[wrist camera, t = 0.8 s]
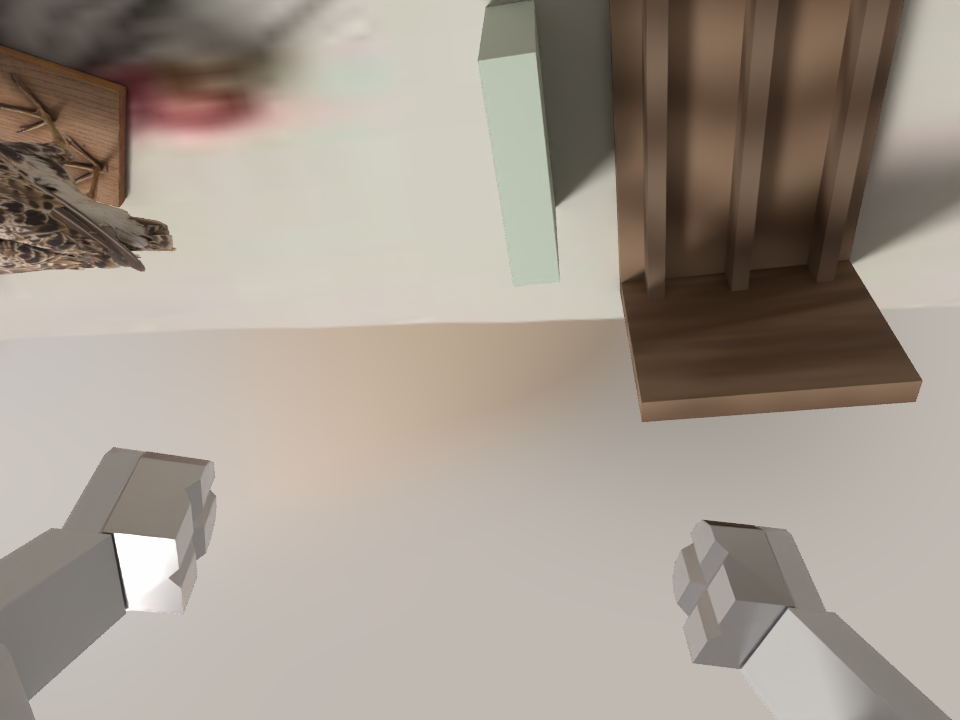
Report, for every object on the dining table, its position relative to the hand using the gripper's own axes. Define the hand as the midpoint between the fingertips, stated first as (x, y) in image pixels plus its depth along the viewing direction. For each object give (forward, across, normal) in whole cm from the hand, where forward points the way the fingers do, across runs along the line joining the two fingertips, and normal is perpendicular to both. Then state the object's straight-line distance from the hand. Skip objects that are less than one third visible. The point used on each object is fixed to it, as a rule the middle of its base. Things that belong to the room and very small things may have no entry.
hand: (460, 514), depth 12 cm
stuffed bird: (+34, +23, +9) cm, 42 cm away
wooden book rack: (+32, -15, 0) cm, 35 cm away
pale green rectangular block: (+33, -4, +4) cm, 33 cm away
